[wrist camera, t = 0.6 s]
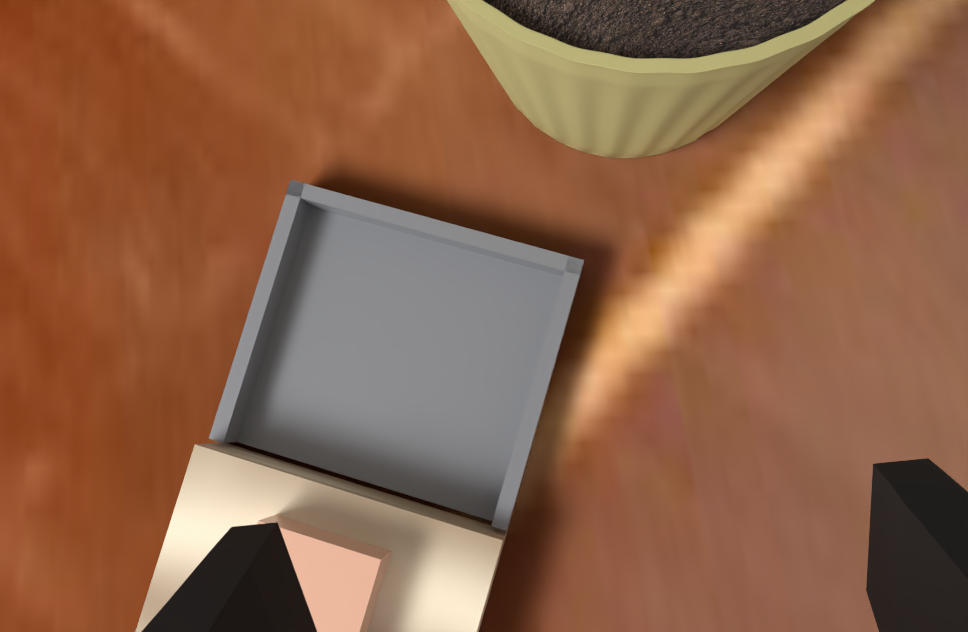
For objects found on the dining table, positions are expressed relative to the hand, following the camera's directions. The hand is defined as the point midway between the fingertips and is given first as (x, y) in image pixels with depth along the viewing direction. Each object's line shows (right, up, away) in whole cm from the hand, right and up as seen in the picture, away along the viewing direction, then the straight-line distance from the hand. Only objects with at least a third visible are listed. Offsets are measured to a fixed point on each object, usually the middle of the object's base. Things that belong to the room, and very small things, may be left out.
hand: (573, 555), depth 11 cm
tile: (-7, -7, +22) cm, 24 cm away
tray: (-4, +1, +26) cm, 26 cm away
